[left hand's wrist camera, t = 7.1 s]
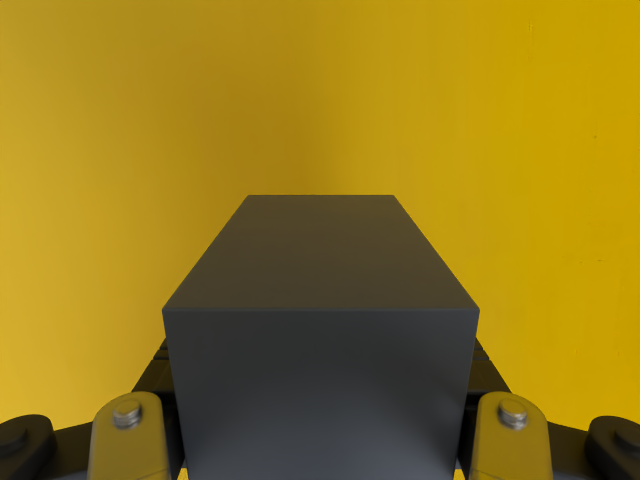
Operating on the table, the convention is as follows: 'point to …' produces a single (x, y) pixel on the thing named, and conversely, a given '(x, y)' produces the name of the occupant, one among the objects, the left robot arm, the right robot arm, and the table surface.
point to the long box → (320, 345)
